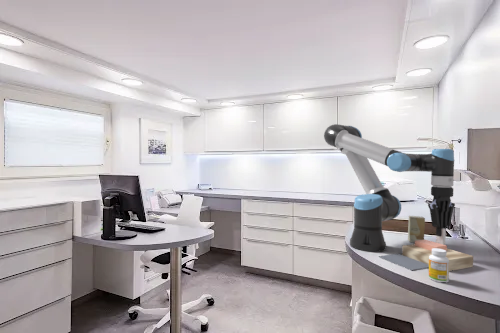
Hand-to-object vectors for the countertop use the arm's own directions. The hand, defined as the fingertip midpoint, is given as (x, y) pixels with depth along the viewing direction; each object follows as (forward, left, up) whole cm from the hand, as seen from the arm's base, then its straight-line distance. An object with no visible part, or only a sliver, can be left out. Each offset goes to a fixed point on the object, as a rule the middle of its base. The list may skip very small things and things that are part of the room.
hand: (440, 243), depth 112 cm
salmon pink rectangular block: (0, -6, -1) cm, 6 cm away
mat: (0, -20, -5) cm, 21 cm away
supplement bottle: (+16, -24, -5) cm, 29 cm away
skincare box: (-19, +10, -5) cm, 22 cm away
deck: (+3, -7, -5) cm, 9 cm away
